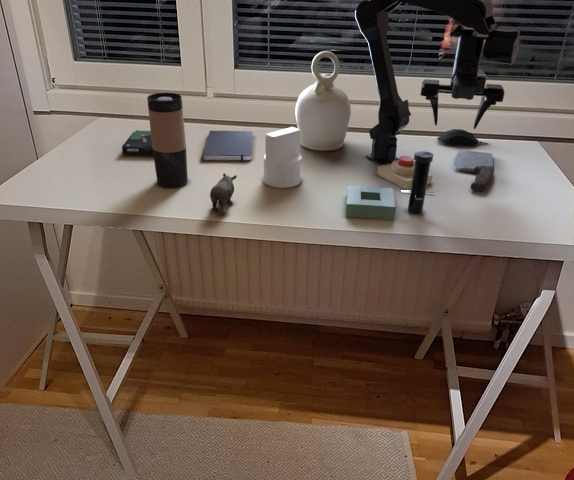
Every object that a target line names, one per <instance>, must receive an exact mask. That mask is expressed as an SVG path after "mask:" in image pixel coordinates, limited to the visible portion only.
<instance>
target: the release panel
mask: <svg viewBox="0 0 574 480" xmlns="http://www.w3.org/2000/svg"><path fill="white" fill-rule="evenodd" d="M398 163H399V160H394V161H393V162H391V163H387V164H382V165H379V166H377V176H380V177H381V178H383V179H385V180H387V181H389V182H391V183H392V184H395V185H397V186H398V187H400V188H402V189H403V190H411V184H412V178H413V171H414V165H415V160H414V164H413V166H412V167H404V166H400V165H398ZM432 179H433V174H431V173H429V175H428V181H427V185H431V184H432Z"/></svg>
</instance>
